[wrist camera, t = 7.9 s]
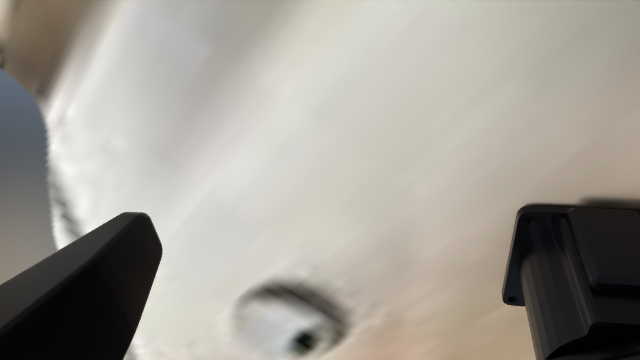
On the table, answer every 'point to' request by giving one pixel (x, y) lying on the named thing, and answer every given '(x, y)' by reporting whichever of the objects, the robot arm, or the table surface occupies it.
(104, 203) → the table surface
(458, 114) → the table surface
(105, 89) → the table surface
